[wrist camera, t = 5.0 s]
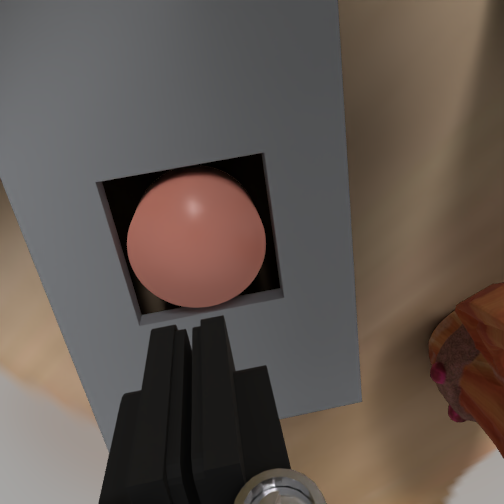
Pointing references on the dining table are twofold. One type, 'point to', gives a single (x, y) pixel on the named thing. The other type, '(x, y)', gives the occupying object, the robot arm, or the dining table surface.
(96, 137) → the box
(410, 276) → the dining table surface
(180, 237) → the call button
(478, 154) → the dining table surface
